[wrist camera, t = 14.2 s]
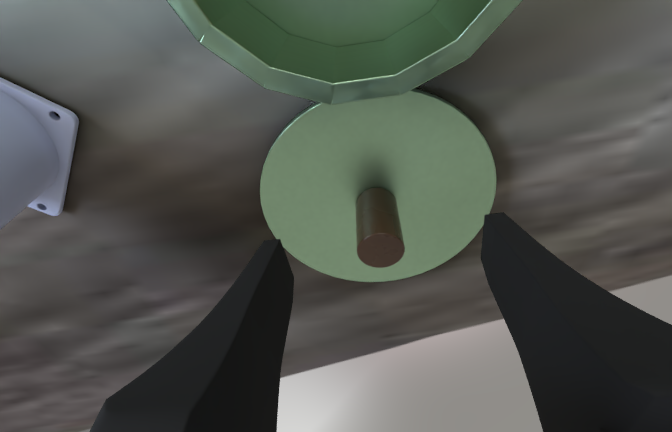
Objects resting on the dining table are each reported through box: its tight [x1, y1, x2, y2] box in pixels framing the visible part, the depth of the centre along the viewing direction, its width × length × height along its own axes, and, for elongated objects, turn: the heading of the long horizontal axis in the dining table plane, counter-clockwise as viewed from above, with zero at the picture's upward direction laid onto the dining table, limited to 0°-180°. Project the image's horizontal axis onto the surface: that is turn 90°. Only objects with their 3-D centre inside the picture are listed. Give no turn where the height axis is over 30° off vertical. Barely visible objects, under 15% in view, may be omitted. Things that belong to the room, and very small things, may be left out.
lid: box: [260, 89, 497, 282], centre depth 20 cm, size 14×14×5 cm
